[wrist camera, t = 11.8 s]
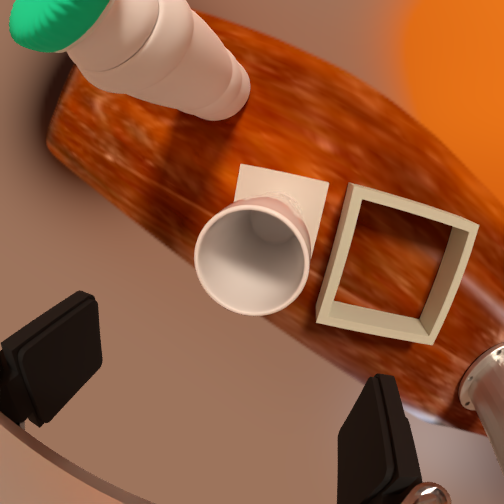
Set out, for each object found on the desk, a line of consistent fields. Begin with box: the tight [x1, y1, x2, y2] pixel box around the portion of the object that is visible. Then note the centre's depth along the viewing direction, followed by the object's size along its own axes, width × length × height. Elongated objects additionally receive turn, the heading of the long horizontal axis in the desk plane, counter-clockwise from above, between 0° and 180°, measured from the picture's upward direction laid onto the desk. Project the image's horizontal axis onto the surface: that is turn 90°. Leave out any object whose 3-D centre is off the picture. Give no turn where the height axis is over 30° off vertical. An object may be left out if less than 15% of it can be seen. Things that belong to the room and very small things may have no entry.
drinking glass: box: [194, 191, 311, 316], centre depth 24 cm, size 7×7×15 cm
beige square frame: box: [316, 183, 479, 345], centre depth 30 cm, size 14×14×4 cm
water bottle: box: [9, 0, 250, 121], centre depth 18 cm, size 7×7×25 cm
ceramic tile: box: [234, 164, 329, 256], centre depth 32 cm, size 9×9×1 cm
